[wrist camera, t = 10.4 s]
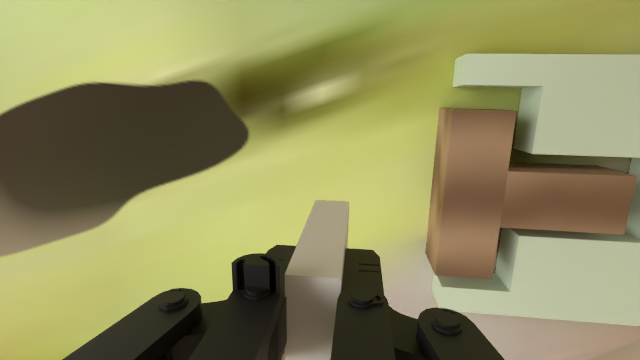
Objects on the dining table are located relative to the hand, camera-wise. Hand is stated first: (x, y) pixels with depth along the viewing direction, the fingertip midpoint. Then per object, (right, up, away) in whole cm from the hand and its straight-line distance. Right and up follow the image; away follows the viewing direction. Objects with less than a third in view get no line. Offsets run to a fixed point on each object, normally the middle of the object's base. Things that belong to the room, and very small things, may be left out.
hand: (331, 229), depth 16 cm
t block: (+15, +2, +12) cm, 19 cm away
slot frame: (+16, +2, +12) cm, 20 cm away
